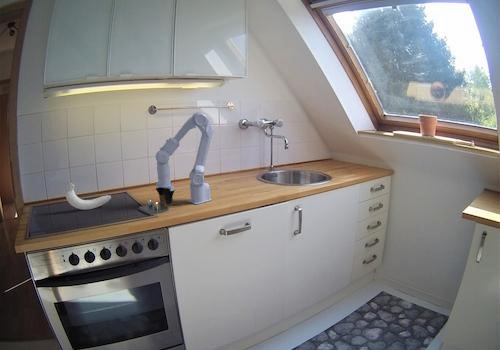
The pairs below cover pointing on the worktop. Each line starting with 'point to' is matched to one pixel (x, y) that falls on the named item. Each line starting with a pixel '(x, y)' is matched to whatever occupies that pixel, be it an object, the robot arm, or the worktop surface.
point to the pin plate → (153, 208)
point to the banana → (85, 203)
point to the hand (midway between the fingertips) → (166, 202)
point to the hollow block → (164, 201)
